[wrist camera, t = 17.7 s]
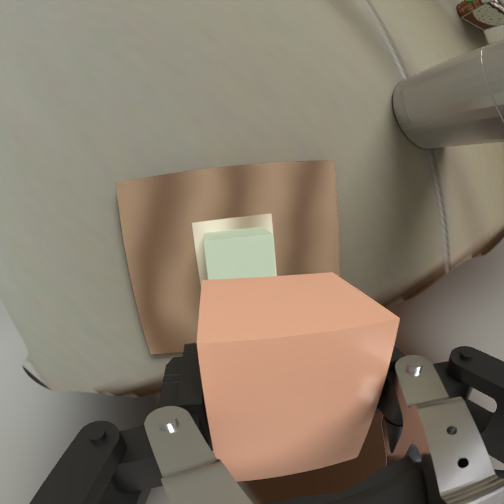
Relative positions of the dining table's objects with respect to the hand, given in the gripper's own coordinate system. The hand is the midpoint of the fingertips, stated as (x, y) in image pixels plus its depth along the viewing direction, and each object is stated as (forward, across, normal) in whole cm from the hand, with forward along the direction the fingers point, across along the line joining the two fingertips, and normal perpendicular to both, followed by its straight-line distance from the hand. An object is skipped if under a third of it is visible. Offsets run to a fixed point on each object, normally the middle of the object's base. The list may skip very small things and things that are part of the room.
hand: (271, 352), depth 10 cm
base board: (+17, 0, 0) cm, 17 cm away
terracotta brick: (+1, 0, 0) cm, 1 cm away
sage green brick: (+15, 0, 0) cm, 15 cm away
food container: (+17, -49, -43) cm, 67 cm away
